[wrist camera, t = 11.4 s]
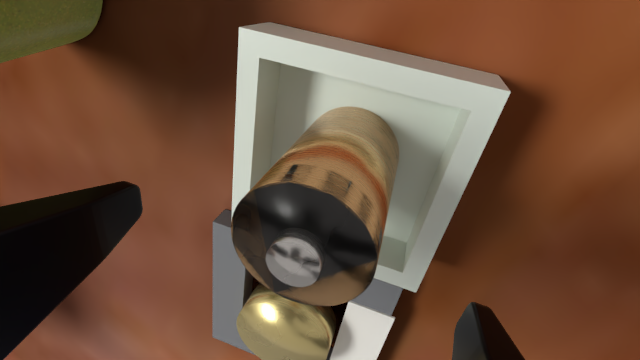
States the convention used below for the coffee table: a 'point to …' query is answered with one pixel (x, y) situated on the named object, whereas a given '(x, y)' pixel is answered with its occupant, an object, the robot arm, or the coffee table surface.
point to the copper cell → (321, 210)
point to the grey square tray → (236, 287)
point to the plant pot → (44, 24)
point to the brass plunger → (285, 327)
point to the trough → (385, 101)
